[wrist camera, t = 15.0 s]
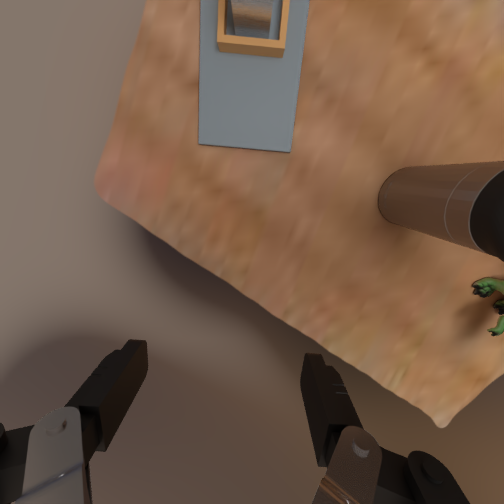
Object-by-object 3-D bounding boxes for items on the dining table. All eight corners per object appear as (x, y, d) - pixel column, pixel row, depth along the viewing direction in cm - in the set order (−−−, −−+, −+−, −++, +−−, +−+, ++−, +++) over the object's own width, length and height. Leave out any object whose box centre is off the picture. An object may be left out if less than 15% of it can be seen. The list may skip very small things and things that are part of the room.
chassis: (312, -33, 30) (319, -59, 27) (289, 152, 37) (293, 150, 33) (203, -45, 30) (196, -73, 26) (200, 144, 36) (194, 141, 33)
